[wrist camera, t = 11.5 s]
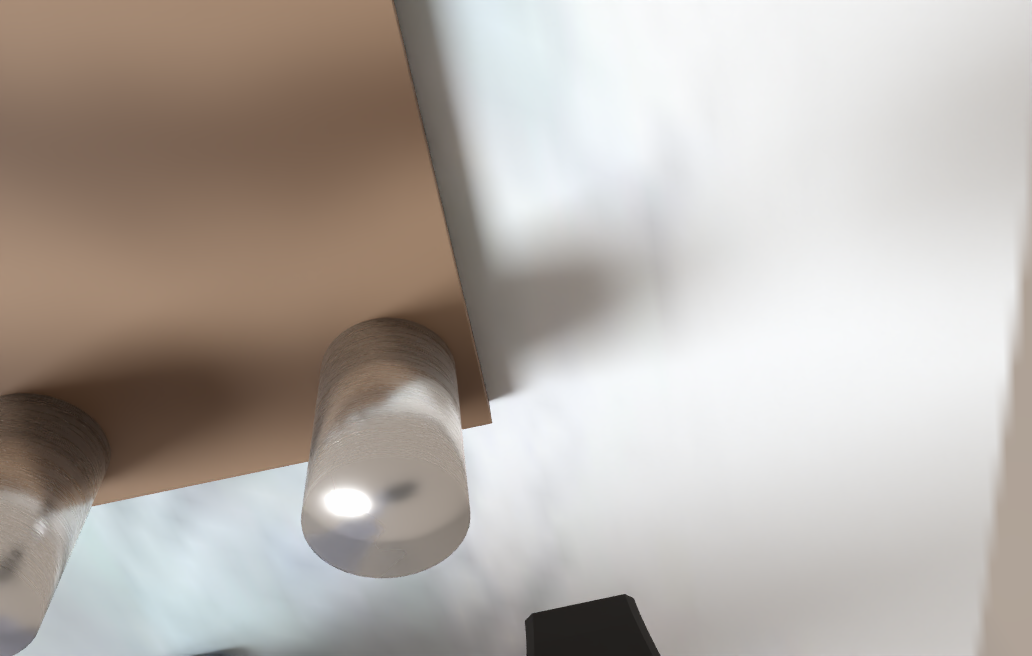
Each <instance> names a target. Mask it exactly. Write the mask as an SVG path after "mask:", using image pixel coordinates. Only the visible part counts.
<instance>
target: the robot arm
mask: <svg viewBox="0 0 1032 656" xmlns="http://www.w3.org/2000/svg"><path fill="white" fill-rule="evenodd" d="M525 628H526V643H527V656H660V654H659V652H658V650H657V648H656V646H655V644H654V642H653V640H652V638H651V636H650V634H649V632H648V630H647V628H646V626H645V624H644V622H643V619H642V617H641V615H640V613H639V610H638V608H637V605H636V603H635V600H634V598H632V597H630V596H628V595H626V594H623V595H618V596H613V597H609V598H604V599H599V600H594V601H590V602H585V603H580V604H575V605H570V606H566V607H561V608H556V609H551V610H547V611H542V612H537V613H532V614H531V615H530V616H529V617H528V618H527V619H526V620H525Z"/></svg>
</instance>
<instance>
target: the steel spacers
mask: <svg viewBox="0 0 1032 656" xmlns="http://www.w3.org/2000/svg"><path fill="white" fill-rule="evenodd" d="M110 459H111V450H110V444H109V441H108V439H107V437H106V435H105V433H104V431H103V430H102V428H101V427H100V426H99V425H98V423H97V422H96V421H95V420H94V419H93V418H91V417H90V416H89V415H88V414H87V413H85V412H84V411H82V410H81V409H79V408H77V407H76V406H74V405H72V404H70V403H67V402H65V401H63V400H60V399H57V398H54V397H50V396H45V395H39V394H29V393H18V394H9V395H4V396H0V656H13V655H15V654H16V653H18V652H20V651H21V650H23V649H24V648H26V647H27V646H28V645H29V644H30V643H31V642H32V640H33V639H34V638H35V636H36V634H37V632H38V630H39V628H40V625H41V623H42V621H43V618H44V616H45V614H46V611H47V609H48V607H49V604H50V602H51V600H52V597H53V595H54V593H55V590H56V588H57V586H58V583H59V581H60V579H61V576H62V574H63V572H64V569H65V567H66V565H67V562H68V560H69V558H70V555H71V553H72V551H73V548H74V546H75V544H76V541H77V539H78V537H79V534H80V532H81V530H82V527H83V525H84V523H85V520H86V518H87V516H88V513H89V511H90V509H91V506H92V504H93V502H94V499H95V497H96V495H97V492H98V490H99V488H100V485H101V483H102V481H103V478H104V476H105V474H106V471H107V469H108V466H109V463H110ZM469 523H470V505H469V495H468V485H467V476H466V466H465V456H464V446H463V436H462V426H461V416H460V406H459V396H458V387H457V377H456V367H455V361H454V358H453V355H452V353H451V351H450V349H449V347H448V346H447V345H446V343H445V342H444V341H443V340H442V339H441V338H440V337H439V336H438V335H437V334H436V333H435V332H433V331H432V330H430V329H429V328H427V327H425V326H423V325H421V324H419V323H416V322H413V321H409V320H405V319H400V318H378V319H372V320H368V321H364V322H361V323H359V324H356V325H354V326H352V327H350V328H348V329H347V330H345V331H344V332H342V333H341V334H340V335H339V336H338V337H337V338H335V339H334V341H333V342H332V343H331V344H330V346H329V347H328V349H327V351H326V352H325V355H324V357H323V360H322V365H321V371H320V379H319V386H318V394H317V401H316V409H315V416H314V424H313V431H312V439H311V447H310V454H309V462H308V469H307V477H306V484H305V492H304V499H303V507H302V514H301V525H302V531H303V534H304V537H305V539H306V541H307V543H308V545H309V546H310V547H311V549H312V550H313V551H314V552H315V553H316V554H317V555H318V556H319V557H320V558H321V559H322V560H324V561H325V562H327V563H328V564H330V565H332V566H333V567H335V568H337V569H340V570H342V571H344V572H347V573H351V574H354V575H359V576H364V577H372V578H393V577H401V576H407V575H411V574H415V573H418V572H421V571H424V570H426V569H429V568H431V567H433V566H435V565H437V564H438V563H440V562H442V561H443V560H444V559H446V558H447V557H448V556H450V555H451V554H452V553H453V552H454V551H455V550H456V549H457V548H458V546H459V545H460V544H461V543H462V541H463V539H464V537H465V536H466V533H467V531H468V528H469Z"/></svg>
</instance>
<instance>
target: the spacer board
mask: <svg viewBox="0 0 1032 656" xmlns="http://www.w3.org/2000/svg"><path fill="white" fill-rule="evenodd" d="M378 318H400V319H405V320H409V321H413V322H416V323H419V324H421V325H423V326H425V327H427V328H429V329H430V330H432V331H433V332H435V333H436V334H437V335H438V336H439V337H440V338H441V339H442V340H443V341H444V342H445V343H446V345H447V346H448V347H449V349H450V351H451V353H452V355H453V358H454V361H455V367H456V377H457V387H458V396H459V406H460V416H461V426H462V429H467V428H471V427H476V426H481V425H486V424H491V423H492V419H491V413H490V406H489V400H488V396H487V392H486V388H485V384H484V379H483V375H482V371H481V367H480V362H479V358H478V354H477V350H476V346H475V341H474V337H473V333H472V329H471V324H470V320H469V316H468V312H467V308H466V303H465V299H464V295H463V291H462V286H461V282H460V278H459V274H458V270H457V265H456V261H455V257H454V253H453V248H452V244H451V240H450V236H449V232H448V227H447V223H446V219H445V215H444V210H443V206H442V202H441V198H440V194H439V189H438V185H437V181H436V177H435V172H434V168H433V164H432V160H431V156H430V151H429V147H428V143H427V139H426V134H425V130H424V126H423V122H422V118H421V113H420V109H419V105H418V101H417V96H416V92H415V88H414V84H413V80H412V75H411V71H410V67H409V63H408V58H407V54H406V50H405V46H404V42H403V37H402V33H401V29H400V25H399V20H398V16H397V12H396V8H395V4H394V0H0V396H4V395H9V394H18V393H29V394H39V395H45V396H50V397H54V398H57V399H60V400H63V401H65V402H67V403H70V404H72V405H74V406H76V407H77V408H79V409H81V410H82V411H84V412H85V413H87V414H88V415H89V416H90V417H91V418H93V419H94V420H95V421H96V422H97V423H98V425H99V426H100V427H101V428H102V430H103V431H104V433H105V435H106V437H107V439H108V441H109V444H110V450H111V459H110V463H109V466H108V469H107V471H106V474H105V476H104V478H103V481H102V483H101V485H100V488H99V490H98V492H97V495H96V497H95V499H94V502H93V504H92V506H96V505H101V504H106V503H110V502H115V501H120V500H125V499H130V498H134V497H139V496H144V495H149V494H154V493H159V492H163V491H168V490H173V489H178V488H183V487H187V486H192V485H197V484H202V483H207V482H211V481H216V480H221V479H226V478H231V477H236V476H240V475H245V474H250V473H255V472H260V471H264V470H269V469H274V468H279V467H284V466H289V465H293V464H298V463H303V462H308V461H309V454H310V447H311V439H312V431H313V424H314V416H315V409H316V401H317V394H318V386H319V379H320V371H321V365H322V360H323V357H324V355H325V352H326V351H327V349H328V347H329V346H330V344H331V343H332V342H333V341H334V339H335V338H337V337H338V336H339V335H340V334H341V333H342V332H344V331H345V330H347V329H348V328H350V327H352V326H354V325H356V324H359V323H361V322H364V321H368V320H372V319H378Z"/></svg>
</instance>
